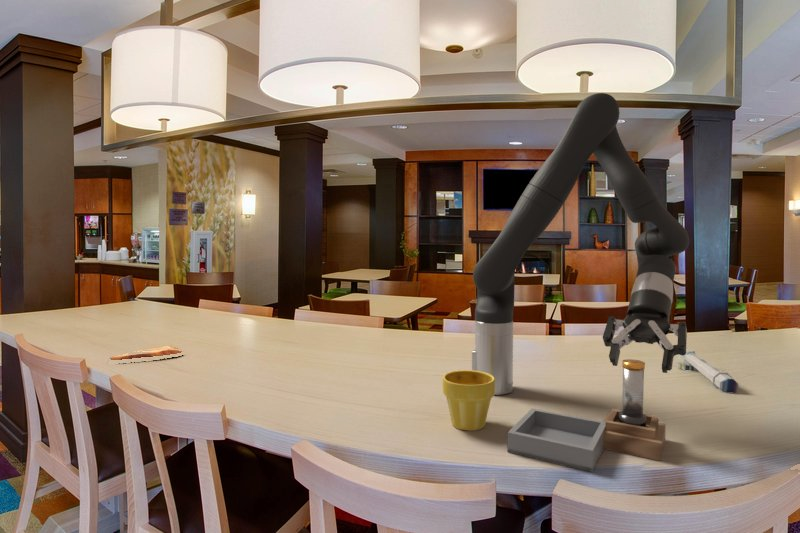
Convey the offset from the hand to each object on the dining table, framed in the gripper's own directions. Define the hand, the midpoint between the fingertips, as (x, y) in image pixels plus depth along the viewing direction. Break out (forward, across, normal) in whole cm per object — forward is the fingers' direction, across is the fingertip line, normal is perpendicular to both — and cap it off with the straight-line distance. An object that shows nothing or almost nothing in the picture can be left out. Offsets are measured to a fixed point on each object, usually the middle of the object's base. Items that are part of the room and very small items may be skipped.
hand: (638, 367), depth 89 cm
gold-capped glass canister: (+10, 0, +4) cm, 11 cm away
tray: (+18, -10, 0) cm, 21 cm away
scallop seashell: (+27, -138, -8) cm, 141 cm away
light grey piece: (-26, +6, +46) cm, 53 cm away
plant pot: (+19, -28, 0) cm, 34 cm away
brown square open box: (+12, 0, +6) cm, 14 cm away
